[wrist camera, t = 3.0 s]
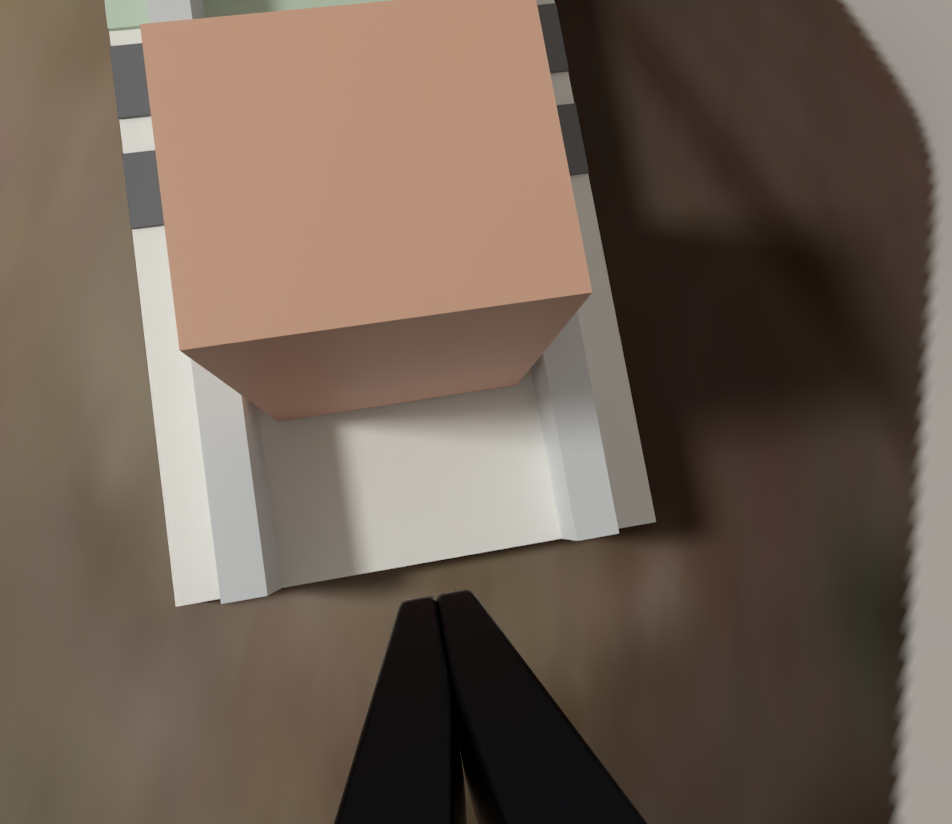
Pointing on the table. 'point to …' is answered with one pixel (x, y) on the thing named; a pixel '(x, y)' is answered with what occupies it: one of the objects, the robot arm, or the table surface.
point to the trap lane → (373, 410)
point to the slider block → (364, 199)
